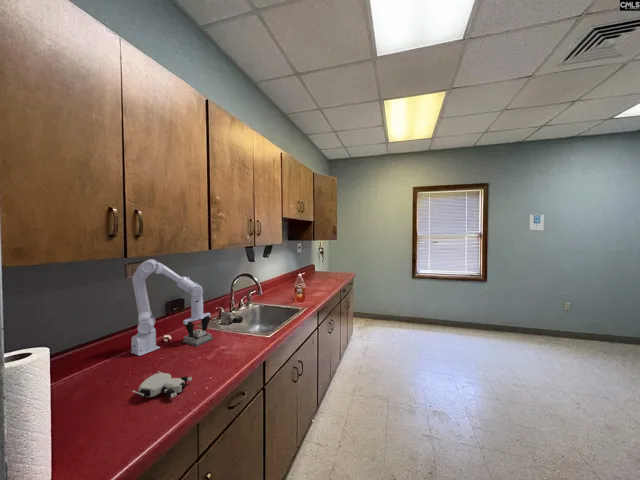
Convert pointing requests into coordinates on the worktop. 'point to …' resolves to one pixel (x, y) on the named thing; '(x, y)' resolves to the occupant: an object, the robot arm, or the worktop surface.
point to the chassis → (197, 340)
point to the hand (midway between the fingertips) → (197, 333)
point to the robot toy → (162, 385)
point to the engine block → (198, 333)
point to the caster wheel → (230, 318)
